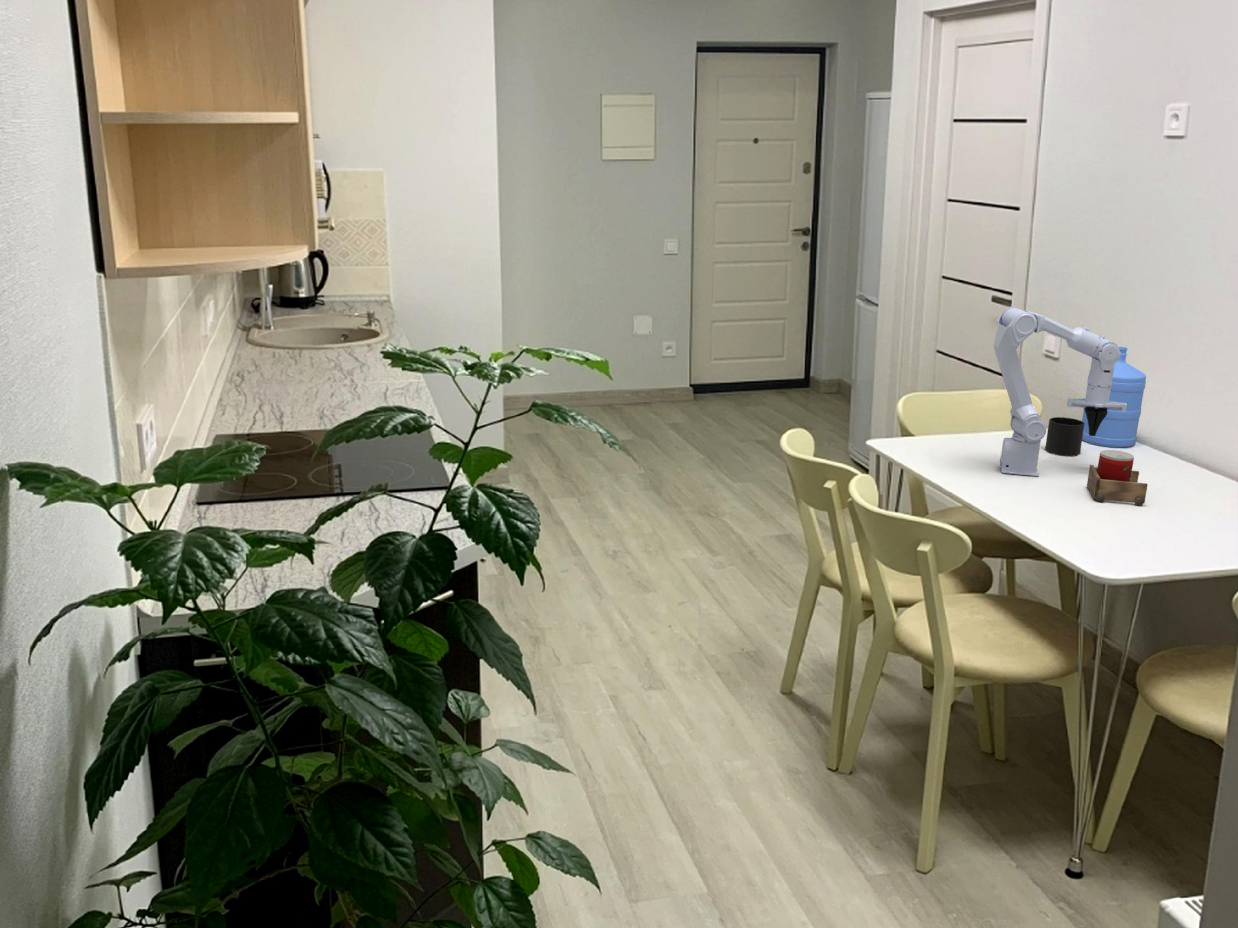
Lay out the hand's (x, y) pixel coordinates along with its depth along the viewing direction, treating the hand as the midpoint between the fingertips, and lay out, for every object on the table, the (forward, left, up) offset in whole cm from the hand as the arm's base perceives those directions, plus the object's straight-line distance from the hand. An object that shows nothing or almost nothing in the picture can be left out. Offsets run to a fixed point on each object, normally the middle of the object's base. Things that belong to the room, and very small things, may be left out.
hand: (1091, 435), depth 317 cm
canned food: (+3, -20, -11) cm, 23 cm away
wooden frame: (+4, -20, -10) cm, 23 cm away
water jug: (+11, +37, -11) cm, 40 cm away
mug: (-4, +21, -11) cm, 24 cm away
